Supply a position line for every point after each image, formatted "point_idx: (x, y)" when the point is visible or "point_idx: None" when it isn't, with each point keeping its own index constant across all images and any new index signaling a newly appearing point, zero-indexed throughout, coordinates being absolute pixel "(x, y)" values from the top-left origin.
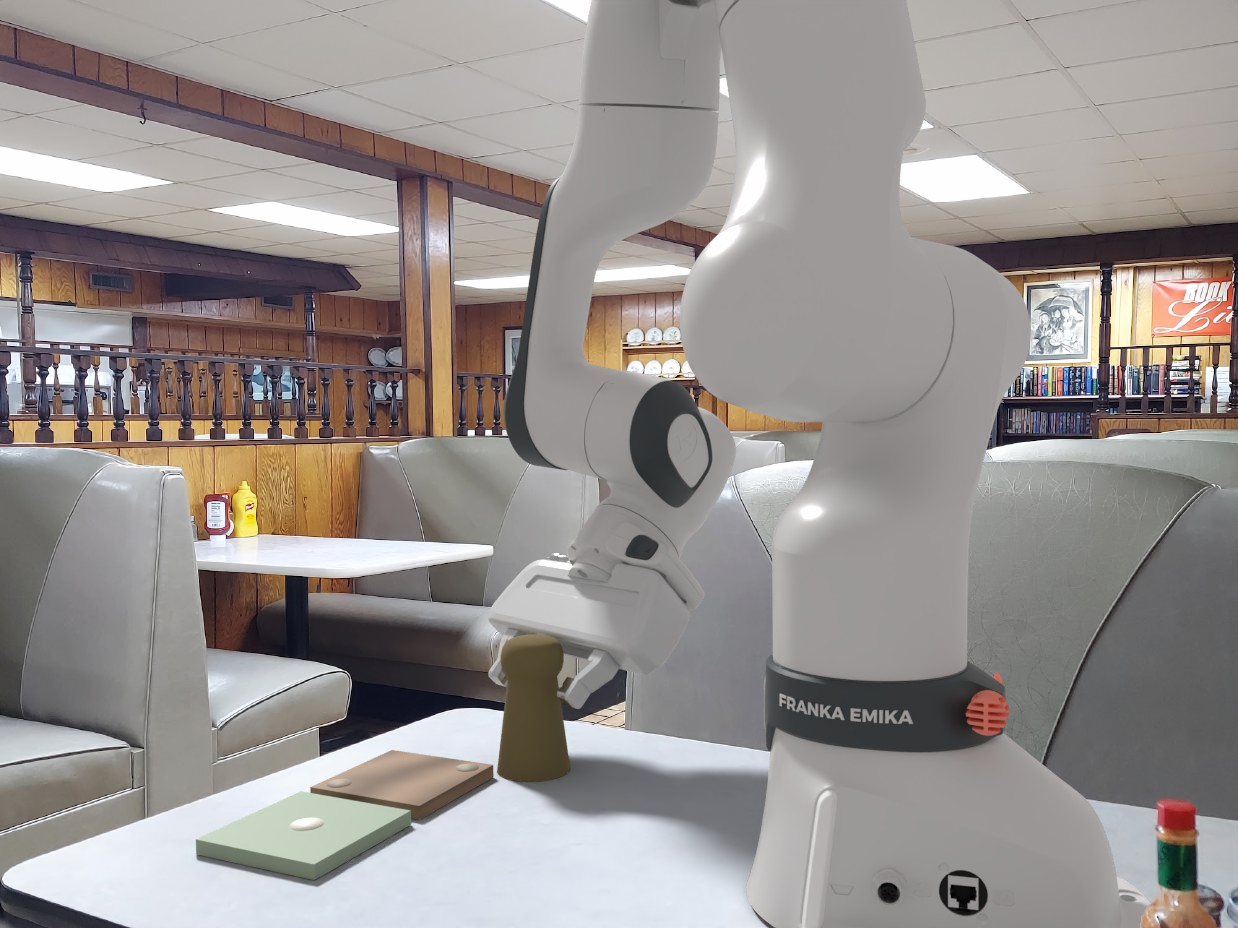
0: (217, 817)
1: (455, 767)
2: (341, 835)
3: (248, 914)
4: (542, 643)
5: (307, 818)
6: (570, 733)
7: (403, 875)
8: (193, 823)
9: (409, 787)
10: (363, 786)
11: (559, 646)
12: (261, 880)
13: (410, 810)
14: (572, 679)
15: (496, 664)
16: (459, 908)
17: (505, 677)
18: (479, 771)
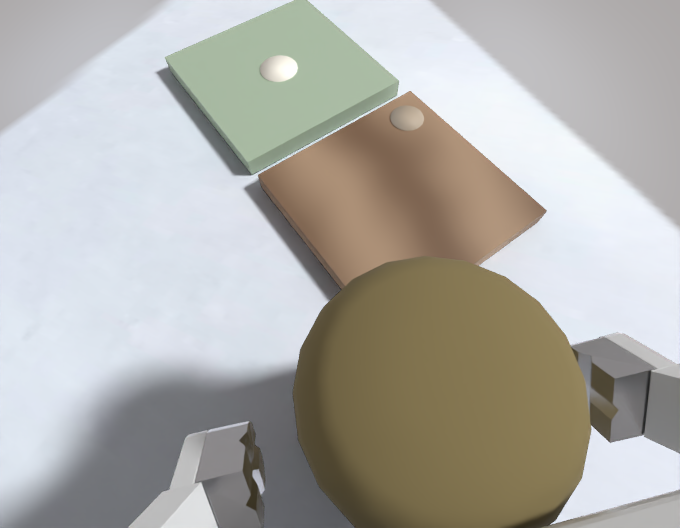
0: (399, 32)
1: None
2: (222, 88)
3: (143, 28)
4: (328, 381)
5: (294, 70)
6: None
7: (118, 133)
8: (393, 16)
9: (339, 184)
10: (379, 139)
11: (349, 502)
12: None
13: (248, 162)
14: (203, 474)
15: (634, 352)
16: (3, 153)
17: None
18: None
